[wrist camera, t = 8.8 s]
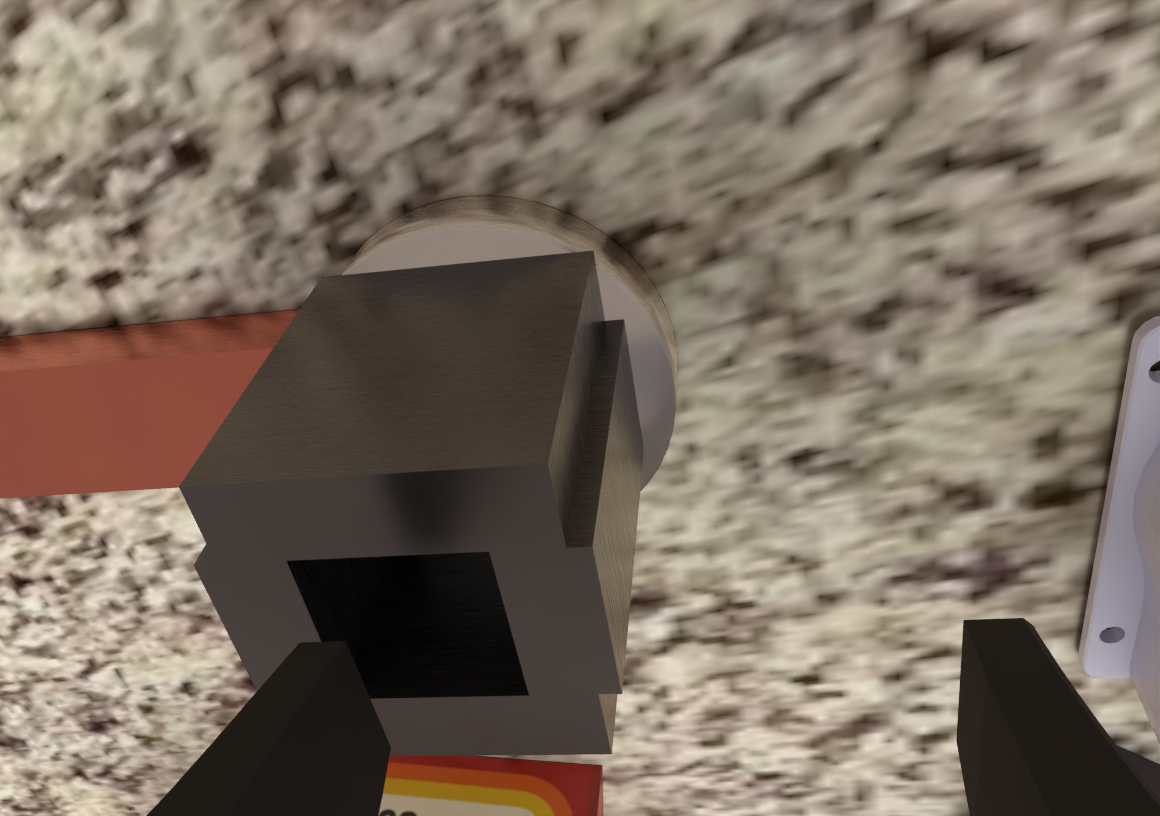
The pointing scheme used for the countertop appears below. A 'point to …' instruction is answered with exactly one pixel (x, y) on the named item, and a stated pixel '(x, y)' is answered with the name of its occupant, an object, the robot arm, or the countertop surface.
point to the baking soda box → (490, 787)
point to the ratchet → (243, 342)
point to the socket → (439, 502)
